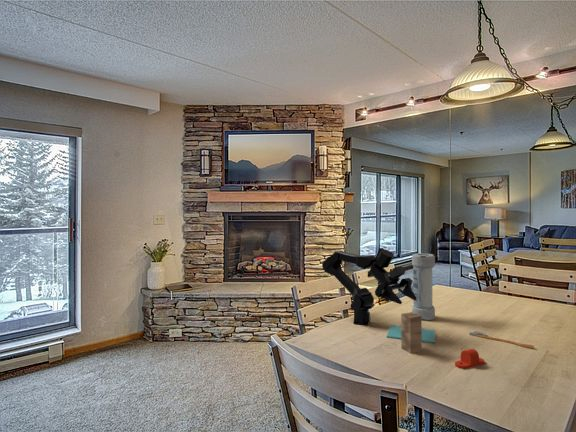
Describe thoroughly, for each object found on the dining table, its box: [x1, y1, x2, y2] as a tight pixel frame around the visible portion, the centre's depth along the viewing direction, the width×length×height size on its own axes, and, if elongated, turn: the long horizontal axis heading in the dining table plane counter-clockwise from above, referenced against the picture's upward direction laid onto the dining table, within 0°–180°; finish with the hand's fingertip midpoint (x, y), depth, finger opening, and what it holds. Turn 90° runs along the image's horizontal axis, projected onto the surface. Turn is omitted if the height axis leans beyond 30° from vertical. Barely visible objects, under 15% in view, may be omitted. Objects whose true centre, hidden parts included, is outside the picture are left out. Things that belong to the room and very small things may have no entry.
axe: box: [468, 330, 535, 350], centre depth 140 cm, size 22×6×2 cm, turn 45°
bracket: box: [454, 348, 485, 370], centre depth 119 cm, size 12×4×5 cm, turn 114°
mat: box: [386, 325, 436, 344], centre depth 147 cm, size 18×14×1 cm
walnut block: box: [400, 312, 423, 354], centre depth 131 cm, size 5×5×13 cm
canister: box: [411, 252, 436, 322], centre depth 169 cm, size 10×10×30 cm
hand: (408, 301), depth 141 cm, fingers open, 9 cm apart
